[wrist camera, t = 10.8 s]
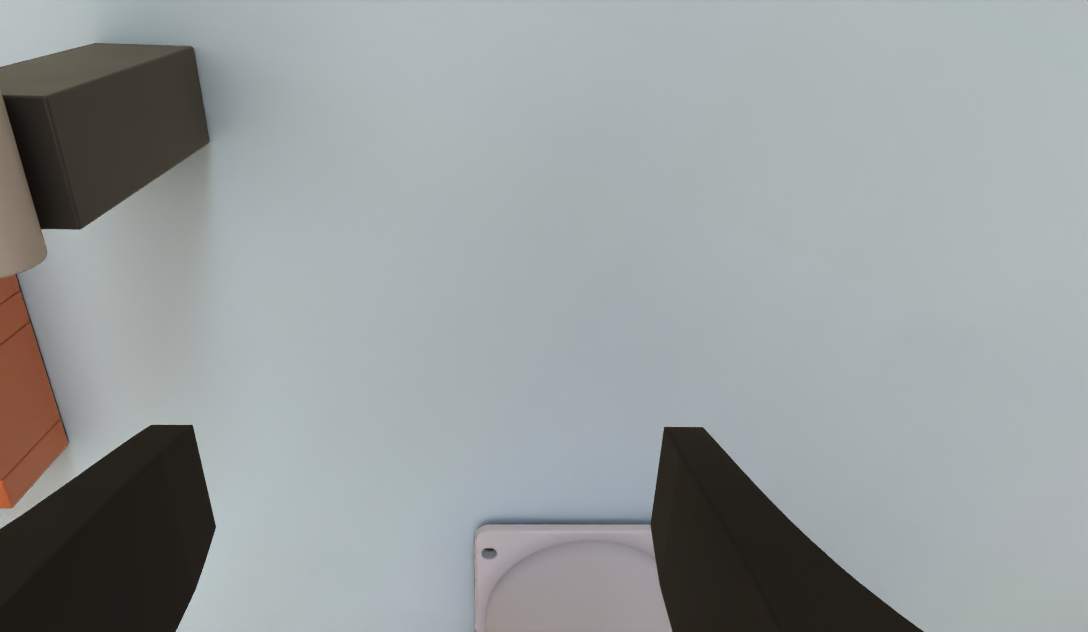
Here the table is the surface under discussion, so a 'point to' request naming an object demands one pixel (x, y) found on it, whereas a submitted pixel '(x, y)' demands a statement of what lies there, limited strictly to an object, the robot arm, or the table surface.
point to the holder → (23, 402)
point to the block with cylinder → (89, 136)
